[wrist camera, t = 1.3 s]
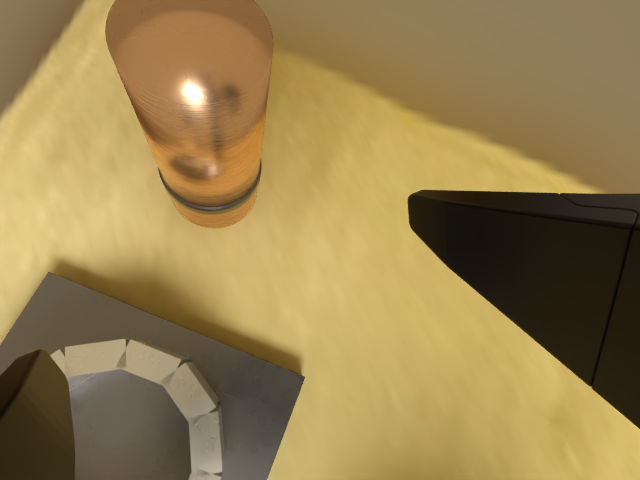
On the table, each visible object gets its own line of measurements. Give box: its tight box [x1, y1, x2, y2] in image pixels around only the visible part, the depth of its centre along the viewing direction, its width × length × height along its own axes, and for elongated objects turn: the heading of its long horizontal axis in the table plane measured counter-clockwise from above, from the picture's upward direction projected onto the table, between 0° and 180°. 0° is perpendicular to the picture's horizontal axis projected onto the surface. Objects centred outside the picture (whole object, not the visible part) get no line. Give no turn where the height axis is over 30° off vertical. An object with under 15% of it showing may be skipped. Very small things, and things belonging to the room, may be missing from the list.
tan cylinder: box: [105, 0, 273, 228], centre depth 18 cm, size 5×5×12 cm
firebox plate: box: [0, 272, 305, 480], centre depth 17 cm, size 14×12×4 cm
